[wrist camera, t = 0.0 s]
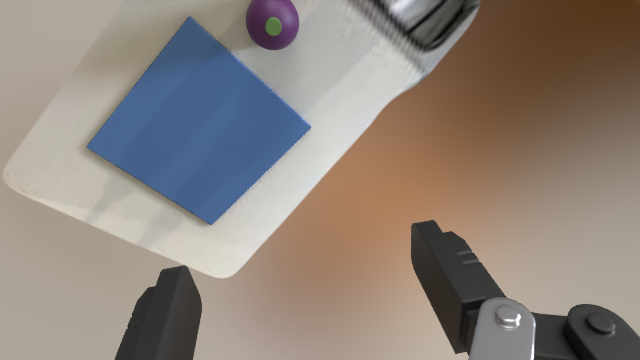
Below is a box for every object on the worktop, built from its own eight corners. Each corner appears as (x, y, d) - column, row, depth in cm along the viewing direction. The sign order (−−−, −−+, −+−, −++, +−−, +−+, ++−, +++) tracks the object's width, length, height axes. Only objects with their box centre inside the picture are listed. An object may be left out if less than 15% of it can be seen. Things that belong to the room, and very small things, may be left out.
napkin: (189, 16, 37) (189, 16, 37) (311, 126, 45) (311, 127, 45) (87, 145, 43) (86, 147, 42) (211, 223, 51) (211, 225, 50)
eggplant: (243, -7, 37) (237, -1, 29) (291, -14, 37) (297, -10, 30) (253, 44, 39) (251, 61, 32) (298, 37, 40) (306, 52, 32)
